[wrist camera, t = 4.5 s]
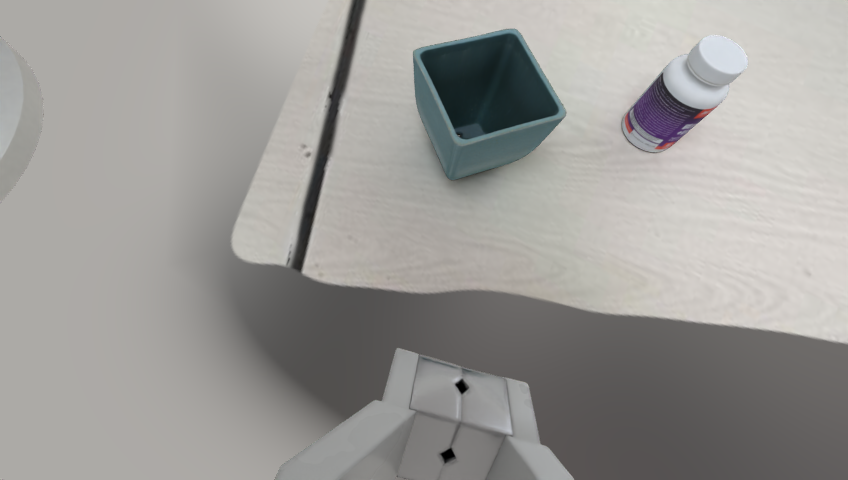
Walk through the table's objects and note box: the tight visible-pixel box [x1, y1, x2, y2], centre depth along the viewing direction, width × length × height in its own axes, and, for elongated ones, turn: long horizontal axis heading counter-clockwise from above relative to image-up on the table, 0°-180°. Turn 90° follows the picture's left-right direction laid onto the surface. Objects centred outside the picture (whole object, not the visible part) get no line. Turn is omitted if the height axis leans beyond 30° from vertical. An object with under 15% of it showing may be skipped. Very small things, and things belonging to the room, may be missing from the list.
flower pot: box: [413, 29, 566, 180], centre depth 33 cm, size 9×9×9 cm
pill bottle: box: [622, 35, 748, 152], centre depth 35 cm, size 5×5×10 cm
